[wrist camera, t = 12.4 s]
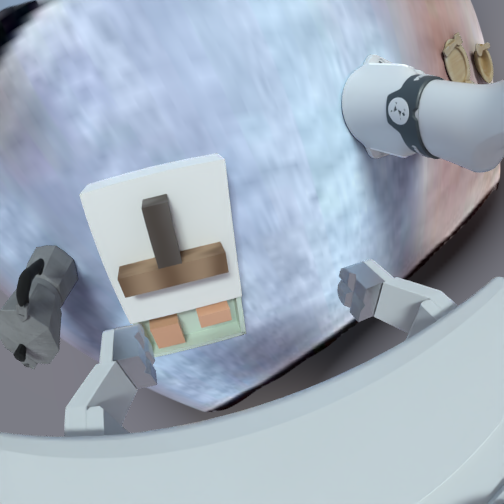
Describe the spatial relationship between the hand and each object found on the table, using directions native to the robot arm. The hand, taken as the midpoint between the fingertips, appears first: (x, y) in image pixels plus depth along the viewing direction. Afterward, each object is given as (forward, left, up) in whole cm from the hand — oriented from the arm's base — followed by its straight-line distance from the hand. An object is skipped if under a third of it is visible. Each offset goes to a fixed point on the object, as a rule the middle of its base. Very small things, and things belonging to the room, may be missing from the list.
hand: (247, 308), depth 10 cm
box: (+4, +26, -29) cm, 39 cm away
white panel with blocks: (+4, +10, -29) cm, 31 cm away
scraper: (+4, +8, -24) cm, 26 cm away
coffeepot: (+23, +10, -29) cm, 38 cm away
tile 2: (+8, +27, -26) cm, 38 cm away
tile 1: (0, +22, -26) cm, 34 cm away
